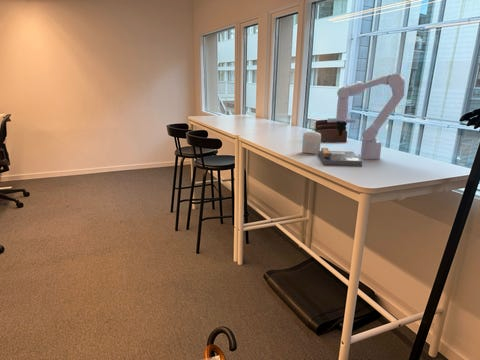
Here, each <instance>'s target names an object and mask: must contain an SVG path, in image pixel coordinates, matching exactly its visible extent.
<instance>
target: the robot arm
mask: <svg viewBox="0 0 480 360" xmlns="http://www.w3.org/2000/svg"><path fill="white" fill-rule="evenodd" d="M405 83H406V82H405V78H404V76H403V75H402V74H401V73H392V74H387V75H383V76H378V77H377V78H374V79H371V80H368V81H366V82H363V81H355V83H353V84H350V85H349V84H347V85H345V86H342V87H340V88H339V89H338V90H337V91H336V95H337V105H336V117H333V118H330V117H329V118H328V117H327V119H326V120H327V122H336V126H337V129H338V136H342V133H343V130H344V128H345V127H346V128H347V124H348V123H354V124H356V121H357V120H356V118H348V116H349V115H348V114H349V113H348V112H349V105H350V104H349V101H350V97H354V96H356V95H360V94H363V93H364V92H365V91H366V90H367V89H370V88H373V87H375V86H376V87H377V86H379V85H384V86H389V87H390V88H391V92H392V96H391V97H390V99H389V100H388V101H387V102H386V105H384V107H383V108H382V110H380V112H379V113H378V115H377V117H376V118H375V119H374V121H373V122H372V123H371V125H369V127H367V128H366V129H365V130H364V131H363V132H362V135H361V137H362V140H361V148H360V154H358V155H357V156H358V157H359V158H360V159H361V160H362V159H363V160H365V159H366V160H380V159H381V151H382V142H381V141H379V140H377V136H378V134H379V130H380V129H381V127H382V126H383V125H384V123H385V122H386V121H387V120H388V118H389V117H390V116H391V114H392V113H393V111H395V109H396V108H397V106H398V104H399V103H400V102H401V101H402V100H403V98H404V96H405V87H406V86H405Z"/></svg>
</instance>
